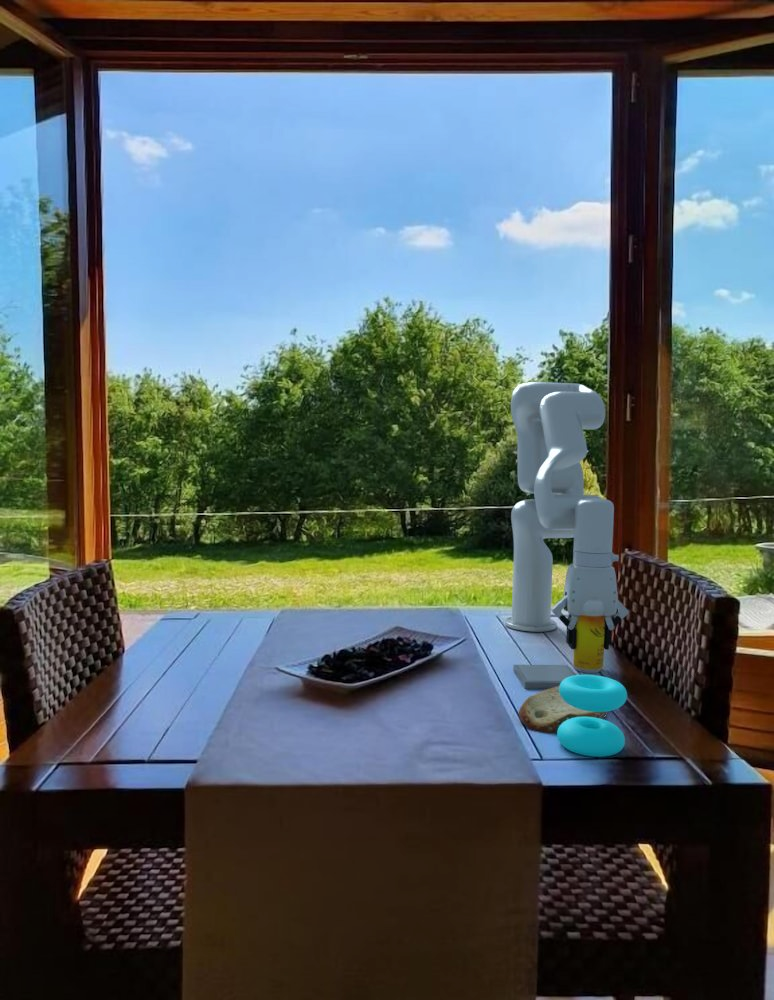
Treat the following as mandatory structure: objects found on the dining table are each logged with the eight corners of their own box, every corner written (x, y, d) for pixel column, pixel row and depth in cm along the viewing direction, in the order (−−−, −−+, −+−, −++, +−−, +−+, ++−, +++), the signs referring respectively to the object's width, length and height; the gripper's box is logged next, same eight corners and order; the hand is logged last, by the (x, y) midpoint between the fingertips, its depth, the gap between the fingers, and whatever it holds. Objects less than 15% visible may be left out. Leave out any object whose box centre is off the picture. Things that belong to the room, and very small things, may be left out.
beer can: (604, 674, 153) (607, 600, 151) (572, 672, 154) (575, 598, 153) (601, 665, 158) (605, 594, 157) (571, 663, 160) (574, 592, 158)
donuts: (641, 685, 115) (597, 697, 109) (638, 750, 116) (594, 765, 110) (589, 668, 123) (545, 678, 117) (586, 729, 124) (543, 742, 118)
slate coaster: (513, 670, 154) (513, 664, 154) (567, 671, 154) (567, 664, 154) (524, 688, 143) (524, 681, 143) (583, 689, 144) (583, 682, 143)
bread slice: (591, 695, 142) (592, 675, 141) (636, 732, 124) (637, 710, 123) (496, 697, 139) (497, 677, 139) (529, 736, 121) (530, 713, 121)
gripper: (628, 557, 158) (624, 643, 160) (545, 556, 158) (541, 642, 159) (641, 563, 151) (637, 653, 152) (554, 562, 150) (550, 652, 152)
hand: (588, 646), depth 156 cm, fingers closed on beer can, 6 cm apart
